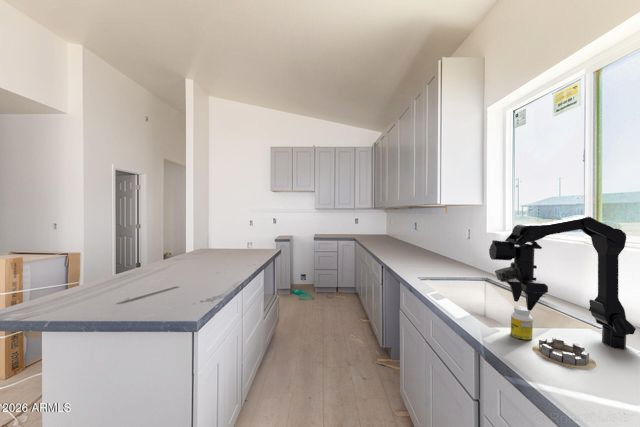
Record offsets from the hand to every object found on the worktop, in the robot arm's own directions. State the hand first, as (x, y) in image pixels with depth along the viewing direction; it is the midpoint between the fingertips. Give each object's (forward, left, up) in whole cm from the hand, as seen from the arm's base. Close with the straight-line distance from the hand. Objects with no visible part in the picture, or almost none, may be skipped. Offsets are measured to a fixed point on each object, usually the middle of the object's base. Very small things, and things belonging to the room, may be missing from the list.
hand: (522, 305), depth 102 cm
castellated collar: (+10, +9, -11) cm, 17 cm away
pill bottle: (0, 0, -12) cm, 12 cm away
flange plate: (+10, +9, -12) cm, 18 cm away
